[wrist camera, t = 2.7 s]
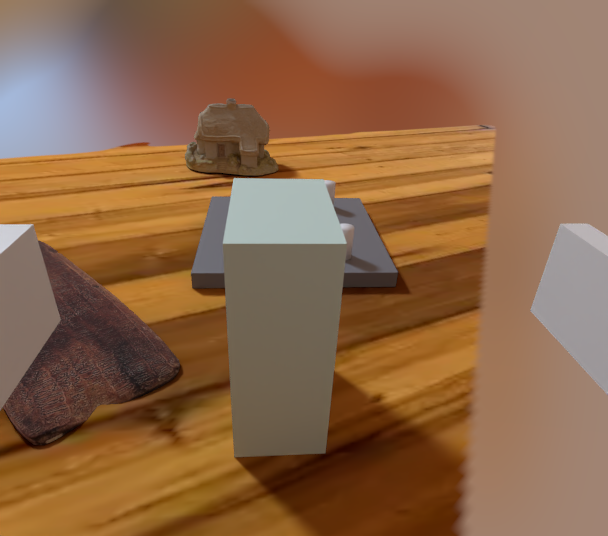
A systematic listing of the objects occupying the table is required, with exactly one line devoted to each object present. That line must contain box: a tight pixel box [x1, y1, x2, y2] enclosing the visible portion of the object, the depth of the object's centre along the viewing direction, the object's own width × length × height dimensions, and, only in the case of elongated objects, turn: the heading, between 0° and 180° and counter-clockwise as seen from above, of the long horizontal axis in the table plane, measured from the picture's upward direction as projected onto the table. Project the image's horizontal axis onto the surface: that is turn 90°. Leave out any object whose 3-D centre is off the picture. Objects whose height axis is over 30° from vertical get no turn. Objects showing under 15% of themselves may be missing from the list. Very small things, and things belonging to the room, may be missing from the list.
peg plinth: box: [191, 180, 398, 288], centre depth 46 cm, size 18×18×4 cm
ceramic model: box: [185, 99, 278, 176], centre depth 66 cm, size 14×11×10 cm
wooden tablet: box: [3, 241, 180, 445], centre depth 34 cm, size 26×2×10 cm
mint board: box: [223, 178, 347, 457], centre depth 24 cm, size 5×8×13 cm, turn 5°
